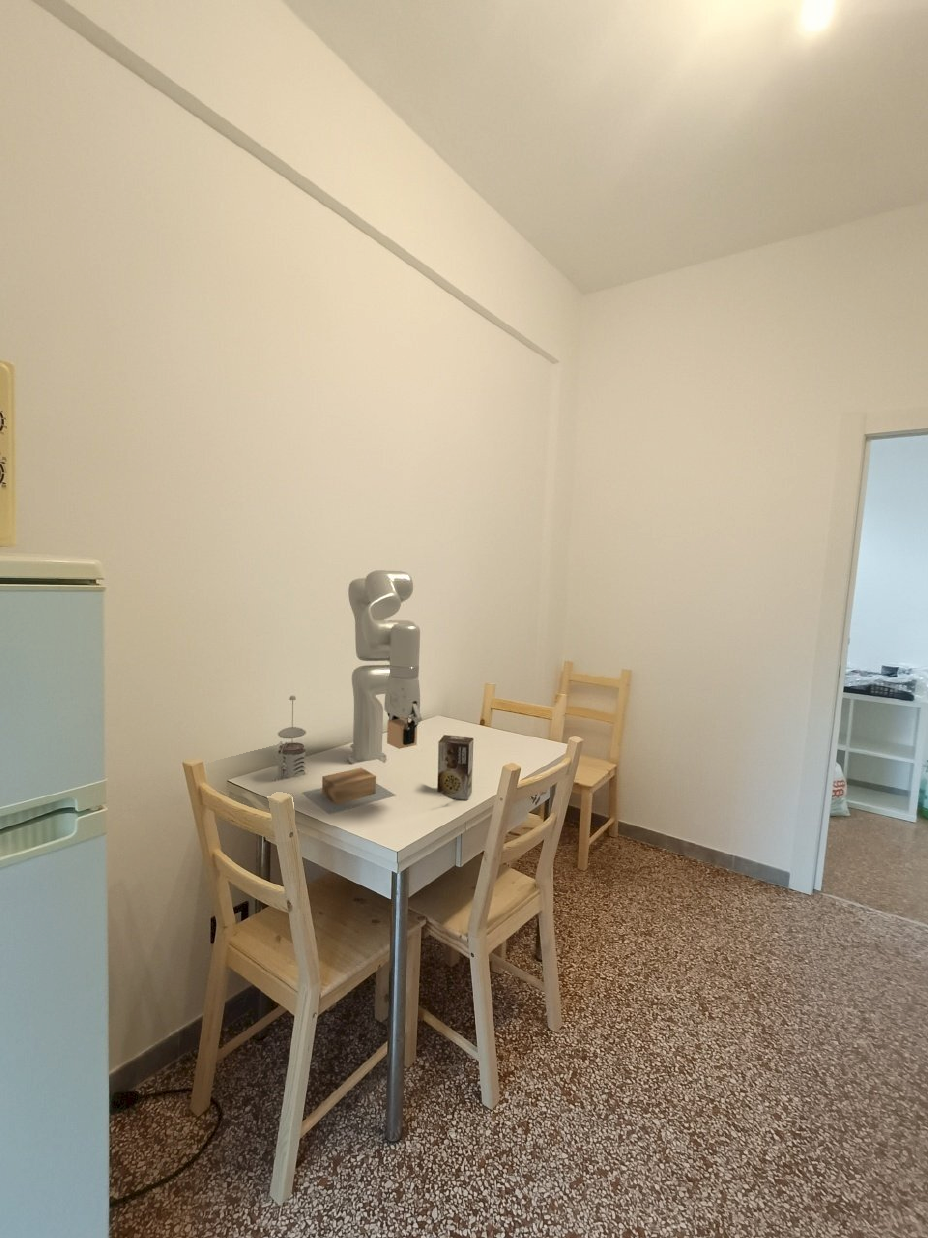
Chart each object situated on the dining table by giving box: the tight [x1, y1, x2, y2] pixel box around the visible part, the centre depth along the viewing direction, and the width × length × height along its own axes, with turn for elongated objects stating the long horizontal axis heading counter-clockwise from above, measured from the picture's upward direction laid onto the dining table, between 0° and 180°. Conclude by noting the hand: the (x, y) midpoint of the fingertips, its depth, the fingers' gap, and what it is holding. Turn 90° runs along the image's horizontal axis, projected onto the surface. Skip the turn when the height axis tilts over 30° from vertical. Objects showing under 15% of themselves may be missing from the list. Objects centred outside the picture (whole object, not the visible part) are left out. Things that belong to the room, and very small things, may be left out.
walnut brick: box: [321, 767, 377, 804], centre depth 149 cm, size 8×12×5 cm, turn 131°
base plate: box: [301, 783, 396, 815], centre depth 149 cm, size 16×20×2 cm
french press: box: [274, 695, 307, 782], centre depth 161 cm, size 10×12×25 cm
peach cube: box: [386, 718, 418, 750], centre depth 141 cm, size 6×6×6 cm
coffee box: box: [436, 734, 474, 800], centre depth 155 cm, size 9×6×16 cm
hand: (401, 739), depth 142 cm, fingers closed on peach cube, 5 cm apart
